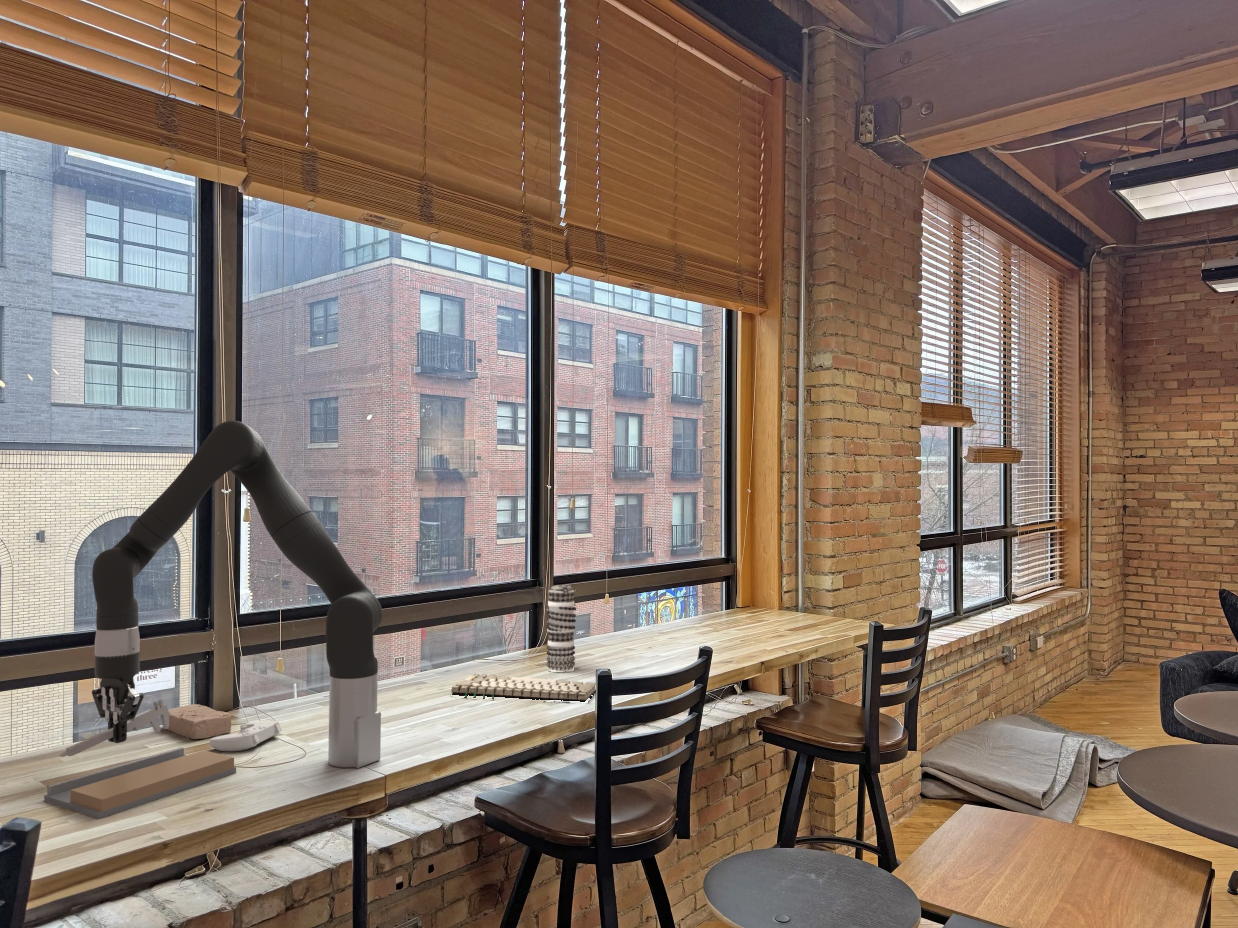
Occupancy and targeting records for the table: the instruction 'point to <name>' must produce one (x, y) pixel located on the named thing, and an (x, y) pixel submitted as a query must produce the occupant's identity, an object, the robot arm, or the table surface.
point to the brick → (198, 721)
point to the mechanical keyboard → (523, 688)
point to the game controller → (246, 736)
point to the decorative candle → (561, 628)
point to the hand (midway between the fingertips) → (117, 741)
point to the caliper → (135, 724)
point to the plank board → (138, 782)
